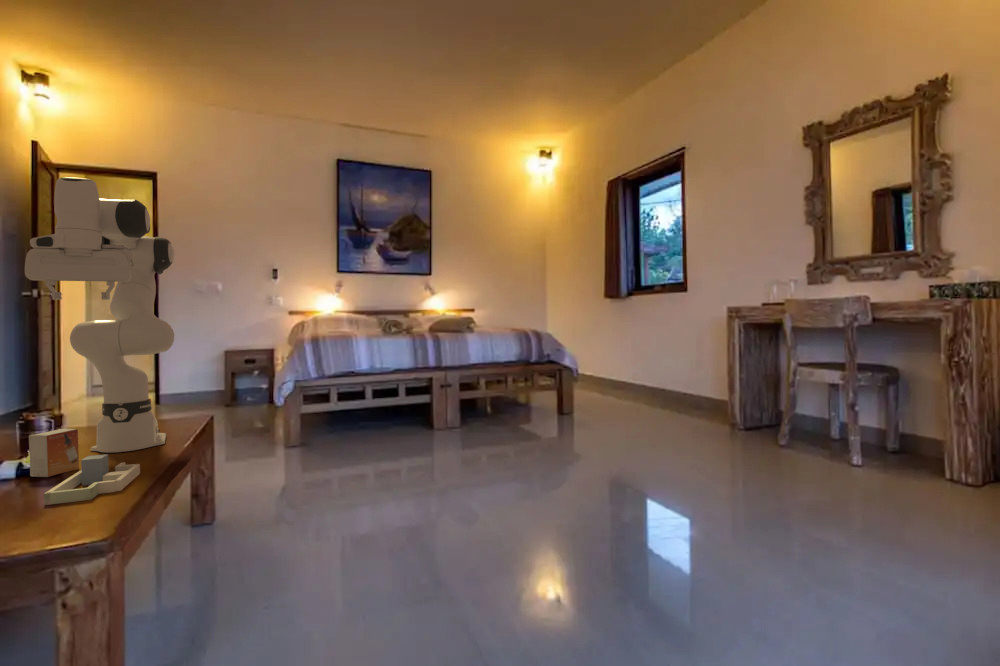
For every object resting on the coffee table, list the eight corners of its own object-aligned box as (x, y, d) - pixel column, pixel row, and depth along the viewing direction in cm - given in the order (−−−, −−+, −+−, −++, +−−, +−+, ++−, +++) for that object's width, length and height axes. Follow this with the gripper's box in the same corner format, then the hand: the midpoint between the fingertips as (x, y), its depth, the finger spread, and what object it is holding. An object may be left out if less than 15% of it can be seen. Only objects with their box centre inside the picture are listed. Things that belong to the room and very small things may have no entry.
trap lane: (87, 475, 127) (86, 466, 127) (144, 469, 131) (143, 460, 131) (44, 505, 107) (43, 493, 106) (113, 497, 111) (113, 486, 111)
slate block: (89, 480, 123) (88, 455, 123) (109, 478, 125) (108, 454, 124) (82, 485, 119) (81, 460, 119) (102, 483, 121) (101, 458, 121)
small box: (47, 478, 126) (45, 435, 126) (29, 477, 127) (27, 435, 127) (80, 468, 134) (78, 428, 134) (62, 467, 135) (61, 428, 135)
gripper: (132, 247, 134) (134, 300, 134) (28, 242, 124) (31, 300, 124) (129, 243, 128) (131, 299, 129) (20, 239, 118) (23, 299, 119)
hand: (81, 299), depth 126 cm, fingers open, 8 cm apart
